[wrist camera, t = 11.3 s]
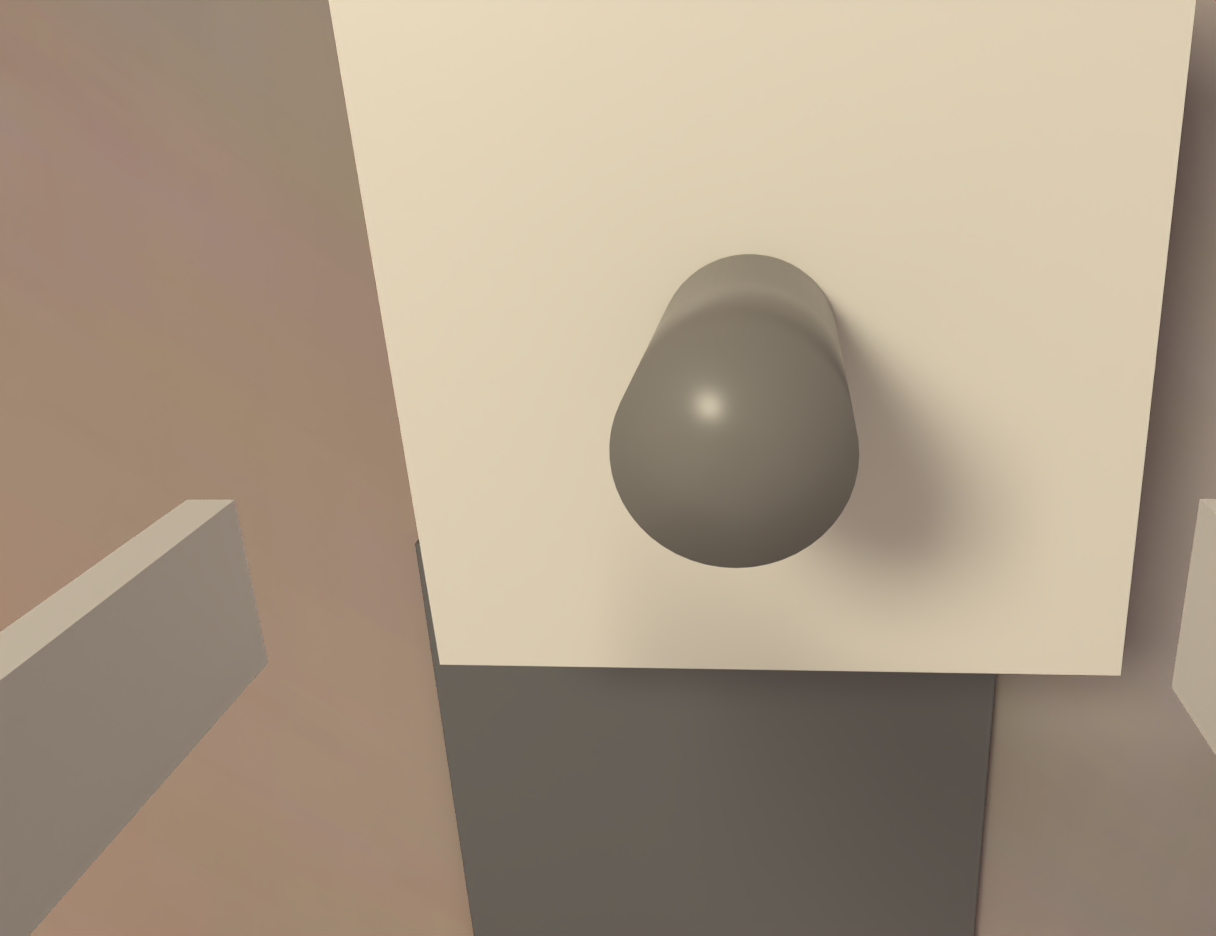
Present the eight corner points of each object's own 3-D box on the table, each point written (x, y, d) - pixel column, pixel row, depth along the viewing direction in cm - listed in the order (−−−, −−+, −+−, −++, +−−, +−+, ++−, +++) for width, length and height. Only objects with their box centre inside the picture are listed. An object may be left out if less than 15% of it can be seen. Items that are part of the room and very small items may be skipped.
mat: (965, 997, 42) (967, 1008, 42) (481, 956, 46) (478, 966, 46) (1003, 543, 35) (1005, 550, 34) (419, 537, 38) (415, 543, 38)
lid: (1107, 651, 28) (1245, 904, 20) (452, 643, 31) (329, 855, 23) (1190, -132, 21) (1454, -260, 13) (343, -33, 25) (112, -82, 16)
